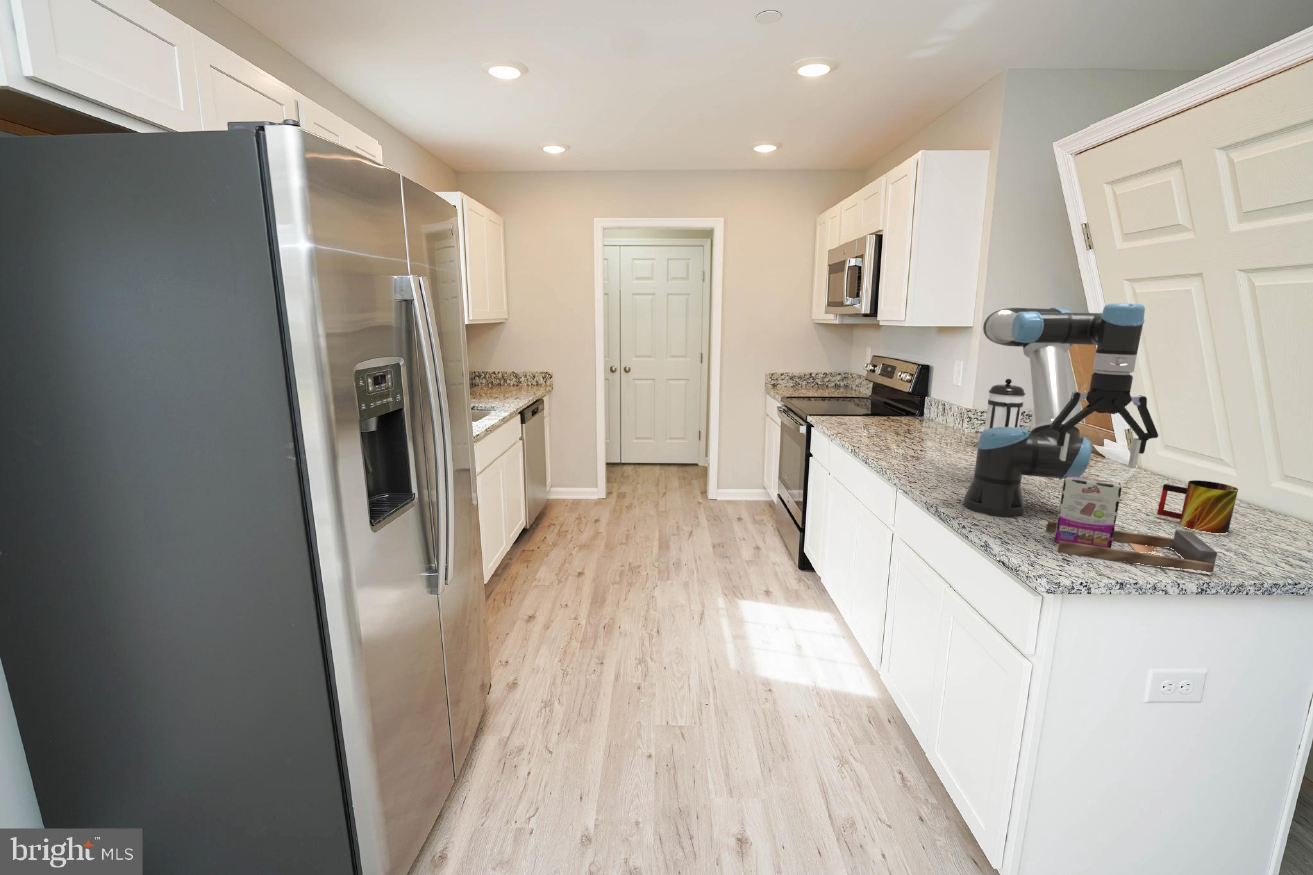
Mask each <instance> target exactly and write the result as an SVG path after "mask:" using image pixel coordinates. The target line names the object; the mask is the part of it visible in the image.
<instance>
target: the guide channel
mask: <svg viewBox="0 0 1313 875" xmlns="http://www.w3.org/2000/svg"><path fill="white" fill-rule="evenodd" d="M1056 527H1057V521H1052V520H1047V523H1046V532H1047V533H1053V534H1054V533H1056ZM1112 542H1117V543H1125V544H1128V545H1129V546H1130V547H1131V548H1132V550H1133V551H1132V550H1125V549H1118V548H1114V547H1113V548H1112V547H1111V548H1106V547H1100V546H1093V545H1086V544H1079V543H1072V542H1066V541H1059V543H1058V546H1057V552H1058V553H1060V552H1063V553H1062V554H1066V553H1069V554H1068V555H1073V554H1076V555H1075V556H1079V555H1081V556H1080V557H1086V556H1088V558H1093V559H1099V558H1100V560H1106V561H1112V560H1113V562H1118V561H1126V562H1130V563H1129V564H1131V563H1140V564H1144V565H1153V566H1160V567H1161V566H1162V567H1174V568H1180V569H1181V568H1182V569H1193V570H1201V571H1206V572H1213V573H1214V568H1215V565H1216V560H1217V556H1218V552H1217V551H1216V550H1215V549H1213V547H1211V546H1210V545H1208V544H1207V543H1206V542H1205V541H1203V539H1201V538H1200V537H1198V536H1197V535H1196V534H1195V533H1193V531H1190V530H1188V531H1187V530H1180V529H1175V531H1174V535H1173V537H1169V536H1168V537H1167V536H1159V535H1152V534H1145V533H1139V532H1131V531H1124V530H1116V529H1114V534H1113V540H1112ZM1145 545H1147V546H1145ZM1152 546H1153V547H1152ZM1157 547H1169V548H1172V549H1174V551H1176V552H1177V553H1178V554H1180V555H1181V556H1182V557H1183V558H1184V559H1181V558H1180V557H1172V556H1168V555H1167V556H1168V557H1167V556H1160V555H1154V554H1151V553H1148V552H1152V551H1153V552H1154V551H1156V552H1157V551H1161V550H1162V549H1161V548H1157ZM1154 549H1156V550H1154ZM1157 549H1161V550H1157ZM1134 550H1135V551H1136V552H1135V551H1134ZM1174 551H1173V552H1174ZM1140 552H1147V553H1140ZM1155 554H1156V553H1155ZM1144 565H1143V566H1144Z"/></svg>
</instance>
